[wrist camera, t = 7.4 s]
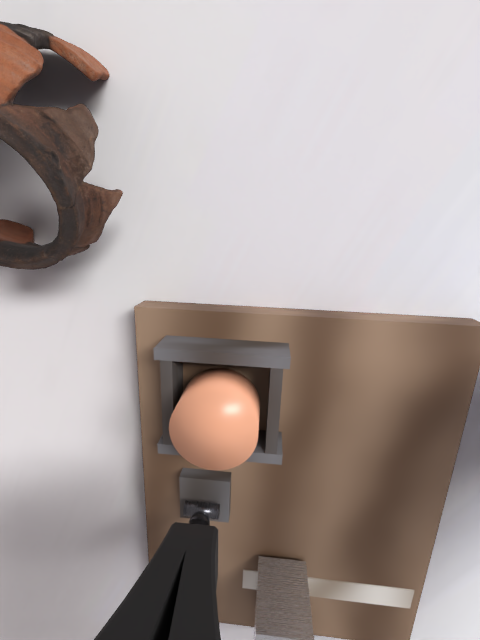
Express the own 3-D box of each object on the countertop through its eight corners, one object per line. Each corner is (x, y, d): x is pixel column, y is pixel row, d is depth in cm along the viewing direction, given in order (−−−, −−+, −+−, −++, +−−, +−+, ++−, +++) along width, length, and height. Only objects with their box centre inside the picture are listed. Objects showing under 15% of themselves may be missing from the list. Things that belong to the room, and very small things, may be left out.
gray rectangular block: (305, 561, 21) (314, 641, 17) (299, 617, 22) (305, 703, 18) (258, 556, 21) (255, 633, 17) (255, 611, 22) (251, 695, 18)
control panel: (471, 318, 18) (519, 340, 14) (399, 622, 24) (420, 686, 21) (144, 300, 19) (117, 316, 16) (158, 591, 25) (141, 647, 22)
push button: (262, 370, 16) (260, 395, 14) (258, 440, 17) (256, 474, 15) (182, 365, 16) (167, 388, 14) (183, 433, 18) (170, 466, 15)
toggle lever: (219, 495, 19) (198, 632, 14) (220, 513, 20) (200, 647, 15) (185, 492, 19) (151, 626, 14) (187, 509, 20) (157, 641, 15)
